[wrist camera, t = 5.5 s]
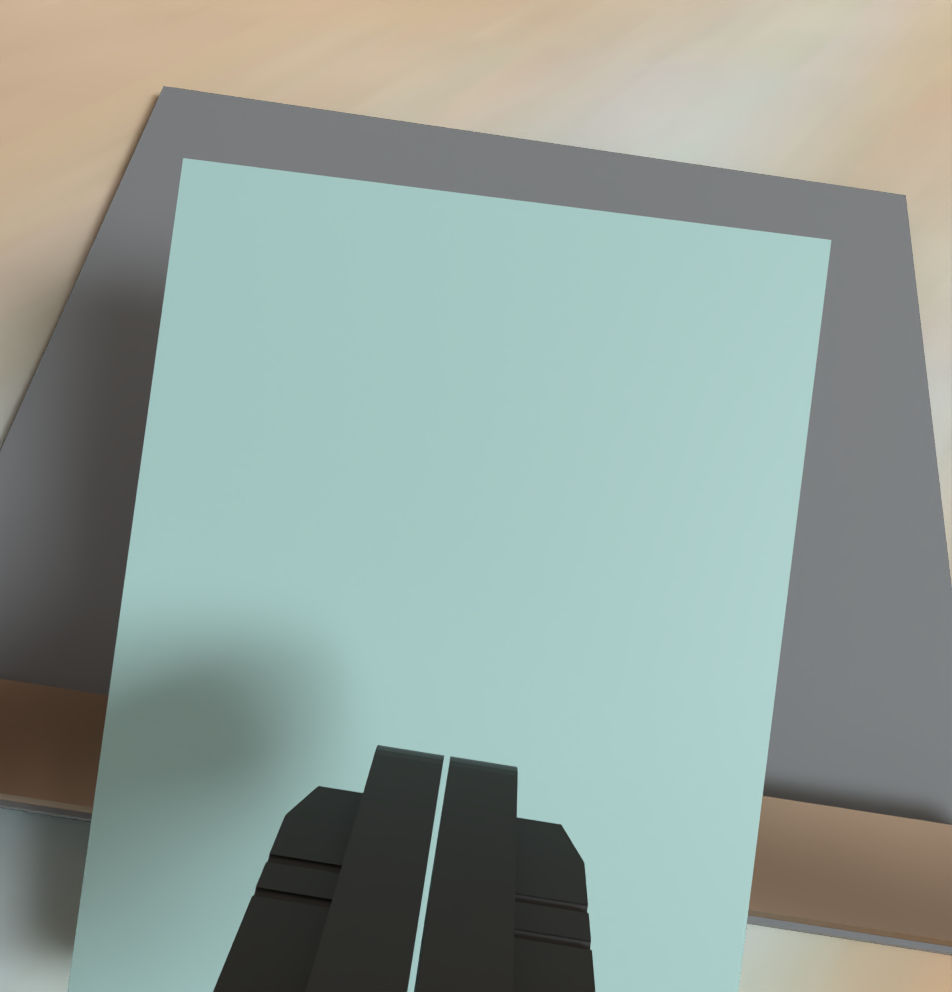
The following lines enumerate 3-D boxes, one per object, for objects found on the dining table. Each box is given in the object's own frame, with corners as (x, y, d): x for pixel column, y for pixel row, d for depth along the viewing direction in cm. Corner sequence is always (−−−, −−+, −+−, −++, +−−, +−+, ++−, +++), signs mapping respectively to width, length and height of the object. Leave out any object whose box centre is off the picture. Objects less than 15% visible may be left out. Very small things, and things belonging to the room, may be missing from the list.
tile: (716, 1164, 13) (831, 240, 14) (55, 1072, 13) (183, 157, 14) (680, 1061, 16) (777, 282, 16) (123, 985, 16) (230, 212, 16)
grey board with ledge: (977, 959, 17) (1034, 959, 16) (-131, 787, 18) (-185, 770, 16) (896, 210, 27) (926, 162, 25) (168, 103, 27) (152, 49, 25)
